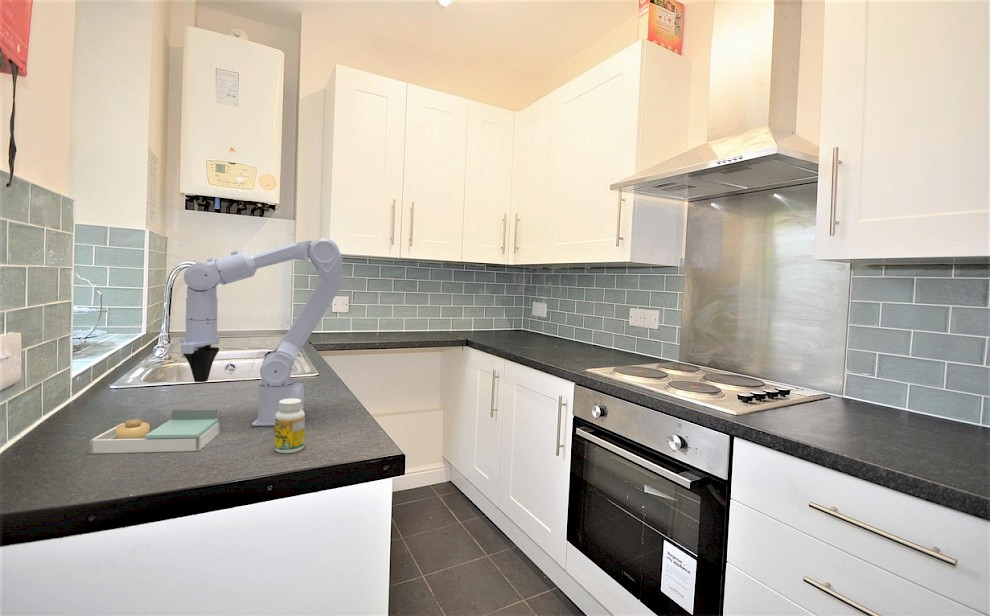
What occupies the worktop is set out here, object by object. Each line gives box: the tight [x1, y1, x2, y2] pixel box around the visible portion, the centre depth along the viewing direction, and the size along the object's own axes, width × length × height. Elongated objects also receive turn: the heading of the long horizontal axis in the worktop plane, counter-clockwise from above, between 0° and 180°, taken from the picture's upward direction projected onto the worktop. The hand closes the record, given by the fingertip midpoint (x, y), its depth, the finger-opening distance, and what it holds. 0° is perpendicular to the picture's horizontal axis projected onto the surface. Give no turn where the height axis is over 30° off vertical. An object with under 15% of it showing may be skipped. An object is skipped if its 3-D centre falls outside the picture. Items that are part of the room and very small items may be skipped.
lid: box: [145, 408, 219, 439], centre depth 91 cm, size 9×10×3 cm
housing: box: [88, 421, 221, 454], centre depth 90 cm, size 18×10×2 cm, turn 102°
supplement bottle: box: [274, 398, 306, 454], centre depth 90 cm, size 5×5×10 cm
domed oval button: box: [116, 418, 150, 439], centre depth 89 cm, size 5×5×4 cm
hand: (201, 381), depth 100 cm, fingers closed
